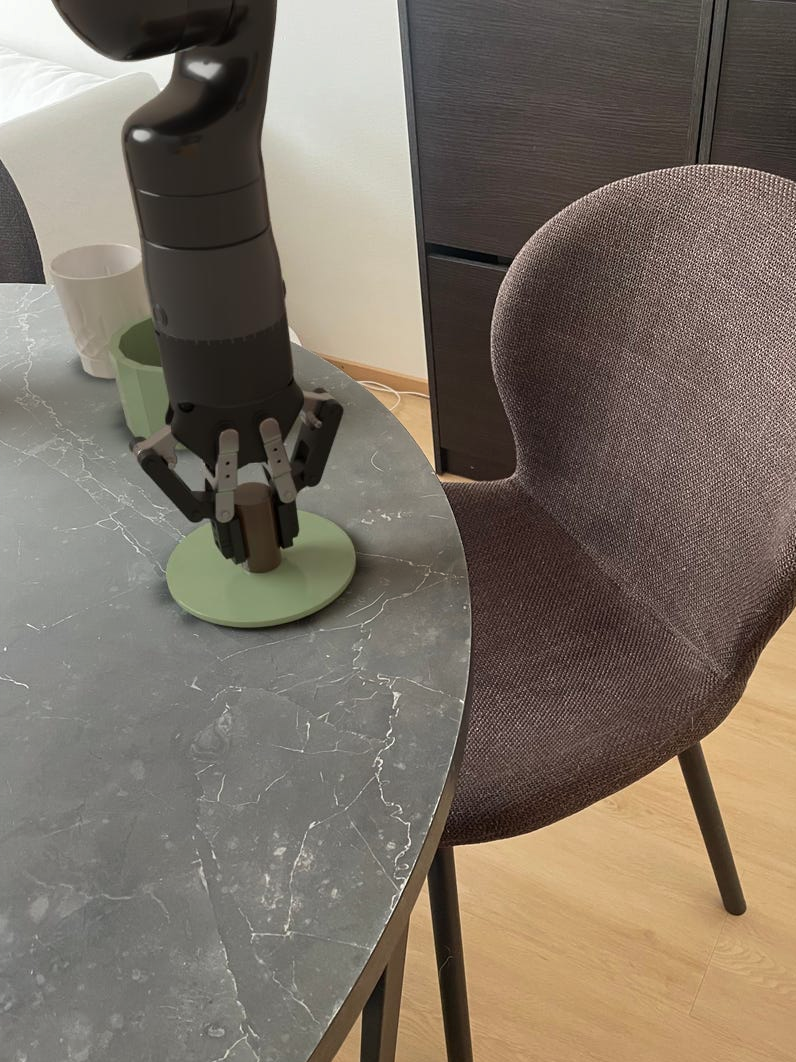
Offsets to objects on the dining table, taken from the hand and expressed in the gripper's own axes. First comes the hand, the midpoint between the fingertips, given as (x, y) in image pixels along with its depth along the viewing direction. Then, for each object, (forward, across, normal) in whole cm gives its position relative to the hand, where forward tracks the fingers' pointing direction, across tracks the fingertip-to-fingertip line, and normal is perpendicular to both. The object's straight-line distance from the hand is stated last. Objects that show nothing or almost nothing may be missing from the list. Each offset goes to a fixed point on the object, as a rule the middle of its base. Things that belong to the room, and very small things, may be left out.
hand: (259, 548), depth 71 cm
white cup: (+3, -1, -36) cm, 36 cm away
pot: (+3, -4, -23) cm, 24 cm away
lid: (+2, 0, 0) cm, 2 cm away
